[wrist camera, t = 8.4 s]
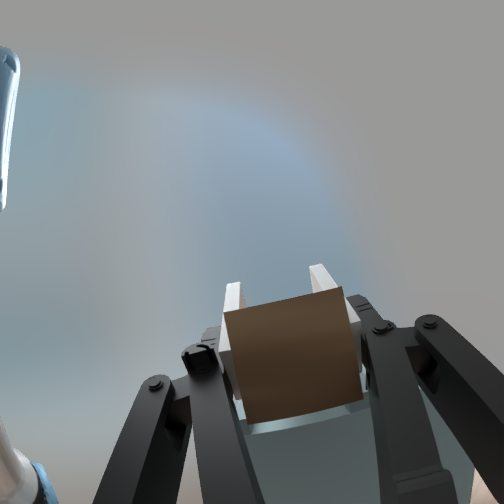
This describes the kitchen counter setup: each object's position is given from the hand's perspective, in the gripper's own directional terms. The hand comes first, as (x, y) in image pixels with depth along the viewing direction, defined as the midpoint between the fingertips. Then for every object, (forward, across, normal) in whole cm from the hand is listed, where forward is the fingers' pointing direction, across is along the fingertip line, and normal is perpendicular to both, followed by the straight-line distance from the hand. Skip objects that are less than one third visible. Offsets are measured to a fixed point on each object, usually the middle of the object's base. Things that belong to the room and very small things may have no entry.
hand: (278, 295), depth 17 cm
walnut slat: (+4, 0, -8) cm, 8 cm away
